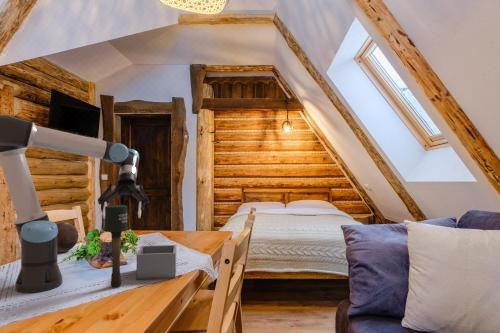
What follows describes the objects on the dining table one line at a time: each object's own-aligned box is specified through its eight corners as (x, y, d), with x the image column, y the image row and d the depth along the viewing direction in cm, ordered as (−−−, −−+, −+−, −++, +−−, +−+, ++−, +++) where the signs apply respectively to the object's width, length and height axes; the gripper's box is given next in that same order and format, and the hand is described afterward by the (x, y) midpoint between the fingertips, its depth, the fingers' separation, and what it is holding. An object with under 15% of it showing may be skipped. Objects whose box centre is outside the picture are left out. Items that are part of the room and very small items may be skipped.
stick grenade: (120, 291, 129) (120, 207, 128) (98, 289, 130) (99, 206, 130) (132, 283, 137) (132, 205, 137) (112, 281, 139) (112, 204, 139)
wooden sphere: (83, 248, 192) (83, 220, 192) (68, 255, 177) (69, 225, 177) (56, 248, 193) (56, 220, 193) (39, 255, 178) (39, 225, 178)
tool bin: (136, 280, 141) (136, 254, 141) (141, 269, 156) (141, 246, 156) (175, 278, 144) (175, 253, 144) (176, 267, 159) (176, 244, 159)
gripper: (157, 183, 164) (154, 221, 149) (99, 183, 159) (90, 222, 144) (156, 171, 158) (153, 210, 144) (96, 171, 154) (86, 211, 139)
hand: (121, 216), depth 144 cm, fingers open, 13 cm apart
